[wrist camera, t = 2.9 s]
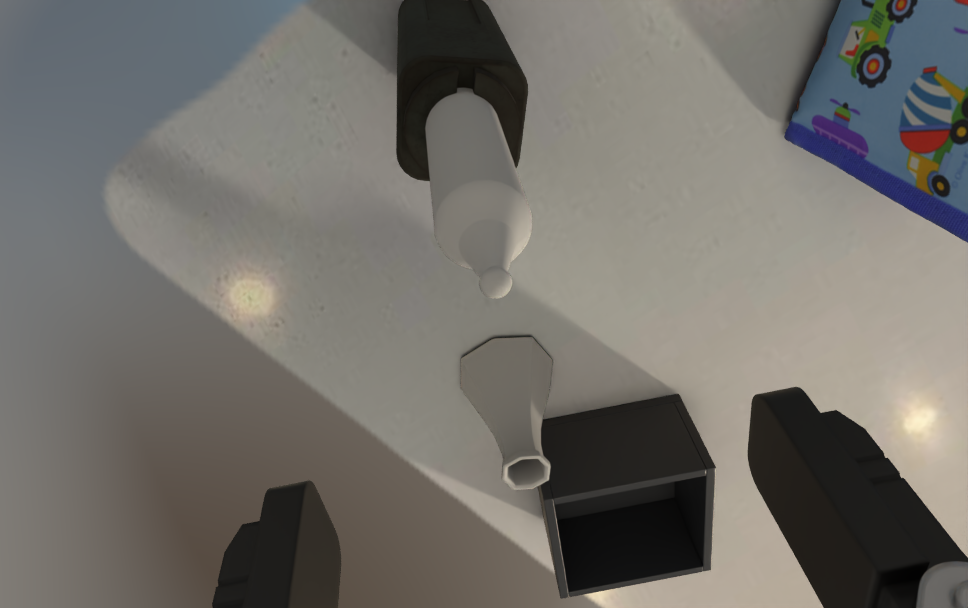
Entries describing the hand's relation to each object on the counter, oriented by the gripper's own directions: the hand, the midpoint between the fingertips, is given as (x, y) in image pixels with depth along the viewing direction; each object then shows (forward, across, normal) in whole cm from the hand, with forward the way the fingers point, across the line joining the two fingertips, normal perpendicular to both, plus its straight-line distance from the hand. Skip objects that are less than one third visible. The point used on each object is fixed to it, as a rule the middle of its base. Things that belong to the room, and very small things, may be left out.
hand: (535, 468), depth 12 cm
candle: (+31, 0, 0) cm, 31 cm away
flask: (+31, 0, +24) cm, 39 cm away
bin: (+31, -7, +36) cm, 48 cm away
